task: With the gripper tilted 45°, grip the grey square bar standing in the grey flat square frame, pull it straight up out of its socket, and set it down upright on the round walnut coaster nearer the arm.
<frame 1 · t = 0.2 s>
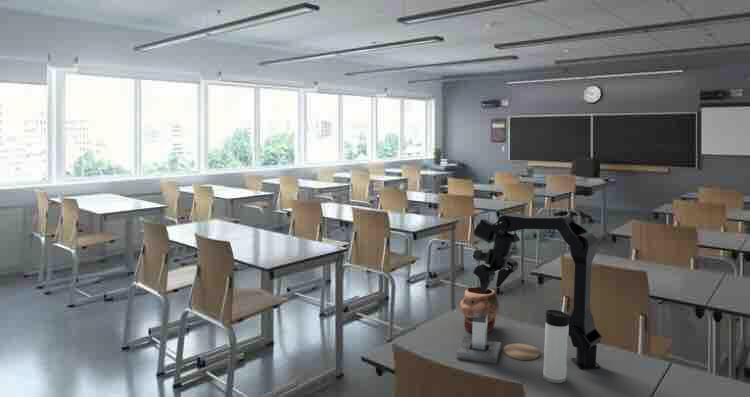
hand: (490, 289, 185), 15 cm above the table, tool pointing down, fingers open, 9 cm apart
decorative planter: (480, 327, 192), on the table
walnut coaster: (521, 352, 171), on the table
grey square bar: (479, 334, 170), in the grey flat square frame
travel mug: (553, 379, 154), on the table
grey flat square frame: (479, 353, 171), on the table
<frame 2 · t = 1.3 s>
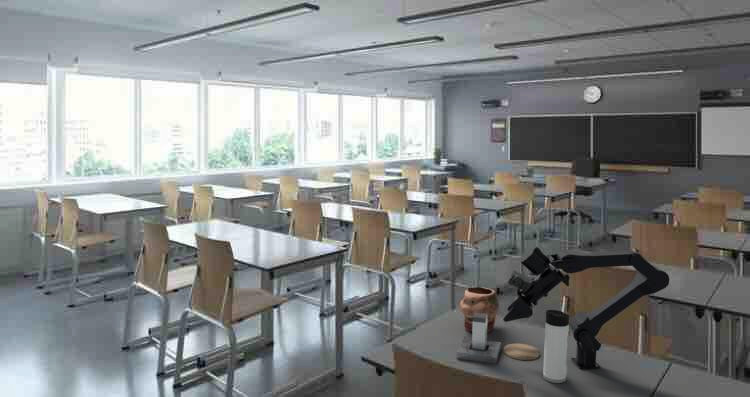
hand: (506, 315, 167), 13 cm above the table, tool tilted 45°, fingers open, 9 cm apart
nothing on the table moved.
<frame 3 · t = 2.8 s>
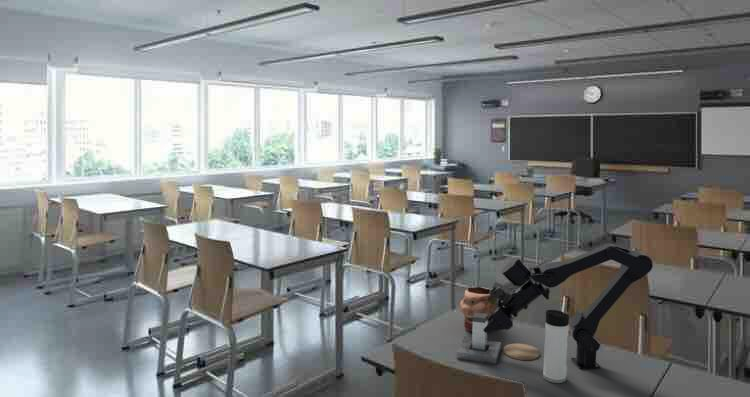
hand: (486, 325, 169), 9 cm above the table, tool tilted 45°, fingers open, 9 cm apart
nothing on the table moved.
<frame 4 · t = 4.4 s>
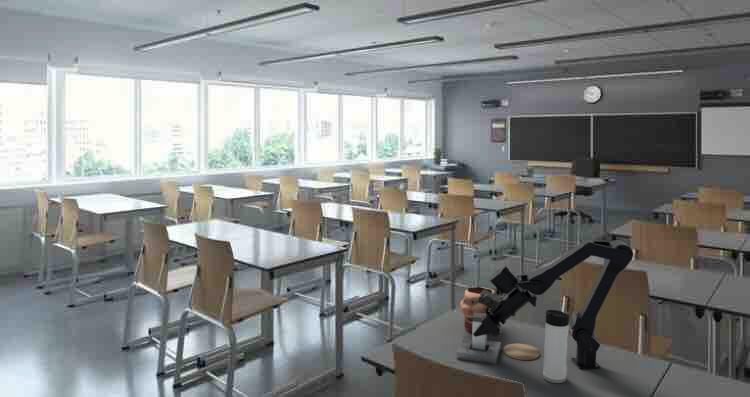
hand: (475, 332, 170), 7 cm above the table, tool tilted 45°, fingers closed on grey square bar, 4 cm apart
grey square bar: (479, 334, 170), in the grey flat square frame, touching gripper
everything else where it was.
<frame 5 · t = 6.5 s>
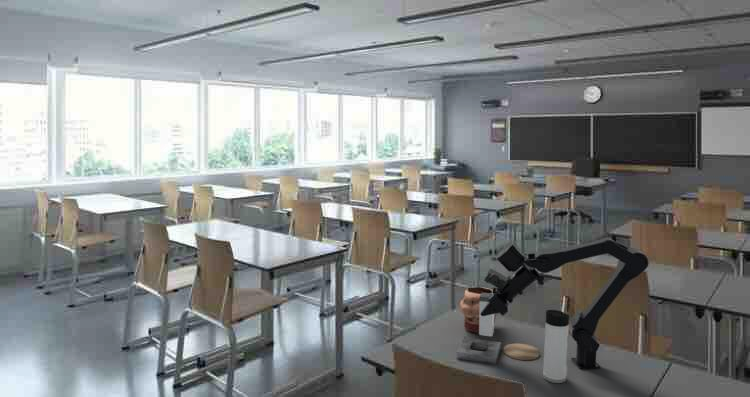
hand: (482, 312, 169), 13 cm above the table, tool tilted 45°, fingers closed on grey square bar, 4 cm apart
grey square bar: (486, 314, 169), point 13 cm above the table, touching gripper
everything else where it was.
when the fingers open (9 cm above the table, at t = 8.9 s): grey square bar drops 1 cm, resting on walnut coaster.
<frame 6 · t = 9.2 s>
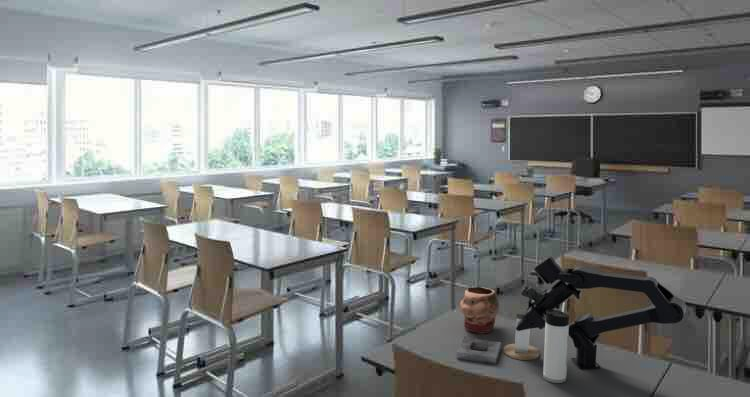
hand: (517, 325, 171), 9 cm above the table, tool tilted 45°, fingers open, 7 cm apart
grey square bar: (522, 331, 170), on the walnut coaster, point 7 cm above the table
everything else where it was.
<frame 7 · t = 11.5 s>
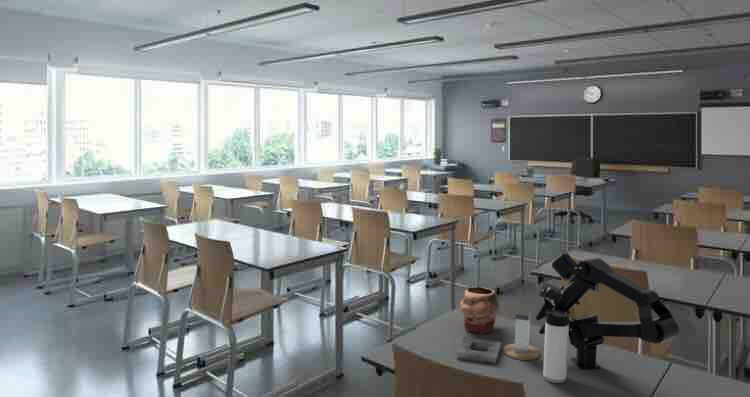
hand: (538, 326, 168), 10 cm above the table, tool tilted 40°, fingers open, 9 cm apart
nothing on the table moved.
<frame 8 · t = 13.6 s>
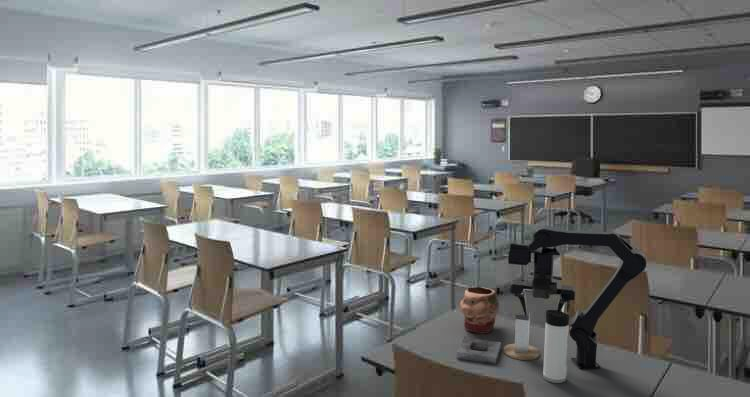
hand: (541, 316, 166), 13 cm above the table, tool pointing down, fingers open, 9 cm apart
grey square bar: (522, 331, 170), on the walnut coaster, point 7 cm above the table, touching gripper
everything else where it was.
at the end: grey square bar 0.0 cm off-centre on the walnut coaster, point 6.9 cm above the walnut coaster's base; grey square bar tilted 1°; the gripper is holding nothing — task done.
